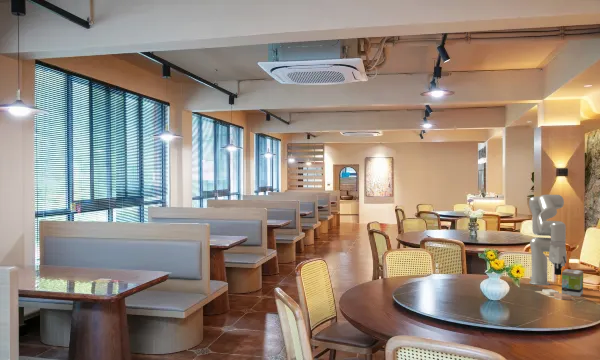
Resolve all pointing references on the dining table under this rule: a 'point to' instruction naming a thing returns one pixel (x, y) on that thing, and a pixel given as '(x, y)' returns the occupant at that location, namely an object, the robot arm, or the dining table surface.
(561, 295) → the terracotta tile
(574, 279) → the tea box
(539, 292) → the board
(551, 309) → the dining table surface
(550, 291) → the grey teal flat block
